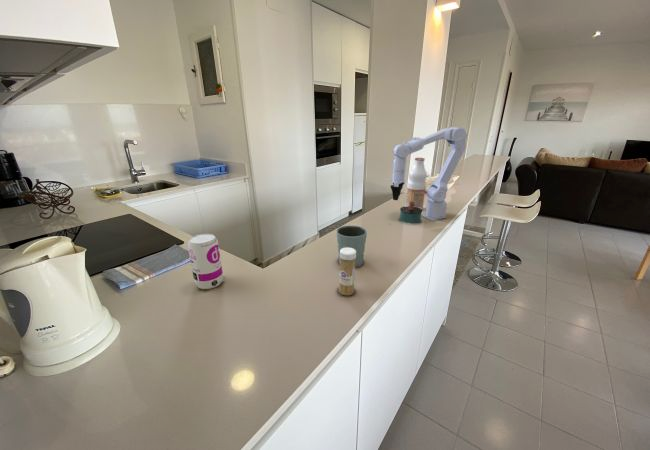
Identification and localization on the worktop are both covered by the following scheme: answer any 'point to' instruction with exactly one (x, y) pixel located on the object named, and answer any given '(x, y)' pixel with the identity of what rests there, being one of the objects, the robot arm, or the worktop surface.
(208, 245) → the supplement can
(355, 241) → the grey green cup
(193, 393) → the worktop surface
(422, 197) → the fruit juice
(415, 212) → the lid
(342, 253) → the sprinkles bottle
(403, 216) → the pot
